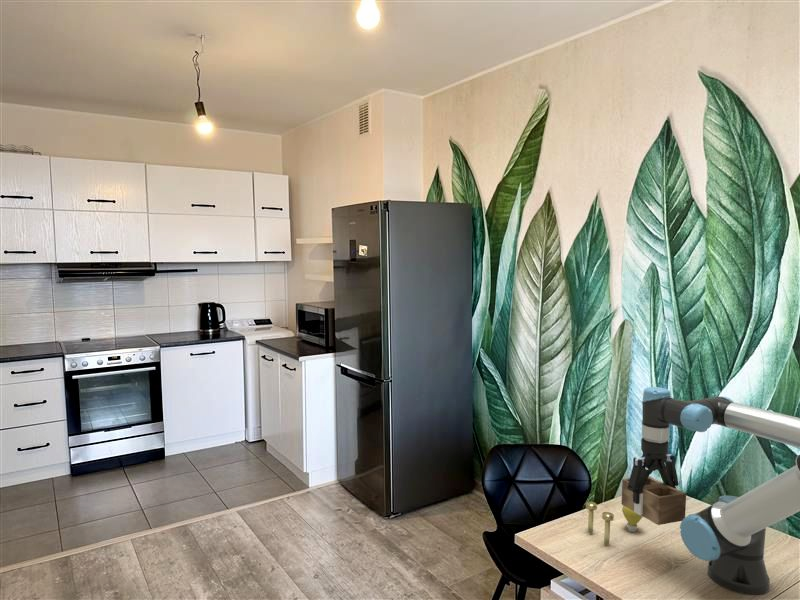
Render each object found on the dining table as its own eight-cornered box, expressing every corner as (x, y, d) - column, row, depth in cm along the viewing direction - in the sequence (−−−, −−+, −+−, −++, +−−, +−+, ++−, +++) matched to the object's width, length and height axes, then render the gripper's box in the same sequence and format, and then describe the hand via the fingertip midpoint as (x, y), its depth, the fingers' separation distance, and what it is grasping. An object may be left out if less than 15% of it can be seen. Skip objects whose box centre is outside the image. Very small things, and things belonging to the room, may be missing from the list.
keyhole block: (685, 520, 163) (686, 493, 163) (658, 525, 160) (659, 497, 159) (646, 500, 177) (647, 475, 177) (621, 504, 174) (622, 479, 173)
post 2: (614, 546, 176) (616, 515, 176) (605, 548, 175) (607, 517, 175) (607, 541, 180) (608, 511, 179) (598, 543, 178) (600, 512, 178)
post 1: (597, 534, 184) (599, 505, 183) (589, 536, 183) (590, 506, 182) (591, 530, 187) (592, 501, 186) (582, 531, 186) (584, 502, 185)
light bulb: (639, 537, 183) (641, 507, 182) (618, 531, 187) (620, 502, 186) (645, 529, 188) (646, 501, 187) (624, 523, 192) (625, 495, 191)
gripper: (674, 432, 174) (671, 501, 176) (615, 438, 167) (613, 511, 168) (694, 439, 167) (691, 511, 169) (633, 446, 160) (631, 521, 161)
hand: (652, 511), depth 168 cm, fingers closed on keyhole block, 10 cm apart
